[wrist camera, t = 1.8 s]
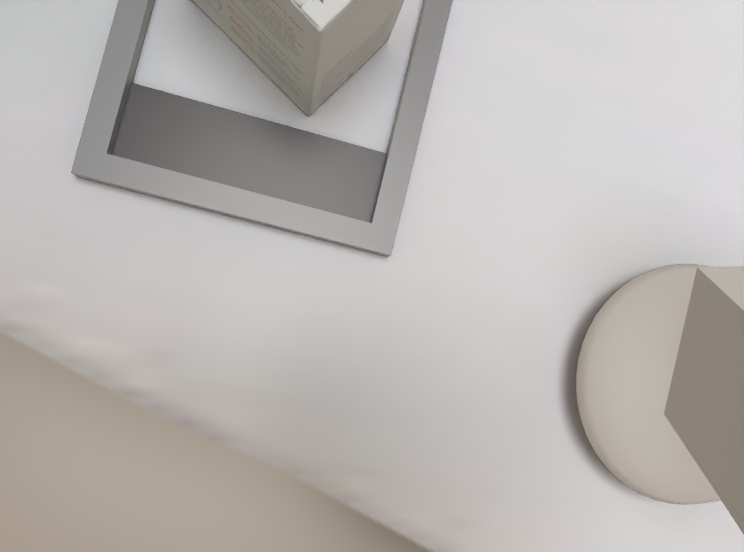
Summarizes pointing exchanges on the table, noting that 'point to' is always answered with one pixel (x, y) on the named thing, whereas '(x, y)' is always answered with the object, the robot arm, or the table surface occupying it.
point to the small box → (306, 39)
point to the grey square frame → (253, 147)
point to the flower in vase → (640, 386)
